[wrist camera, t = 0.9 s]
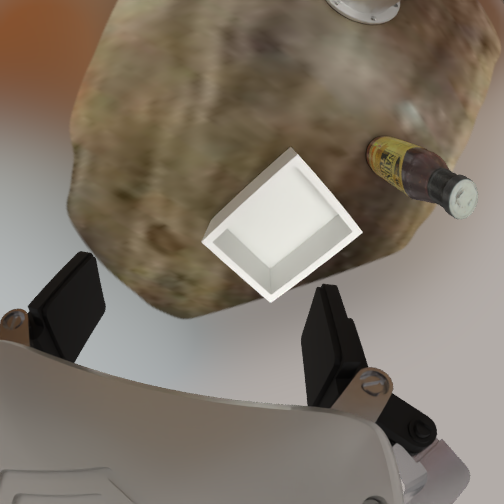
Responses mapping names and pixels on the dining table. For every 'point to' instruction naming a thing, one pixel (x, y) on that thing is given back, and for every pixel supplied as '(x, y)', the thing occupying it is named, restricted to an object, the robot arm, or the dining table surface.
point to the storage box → (280, 227)
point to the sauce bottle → (422, 175)
